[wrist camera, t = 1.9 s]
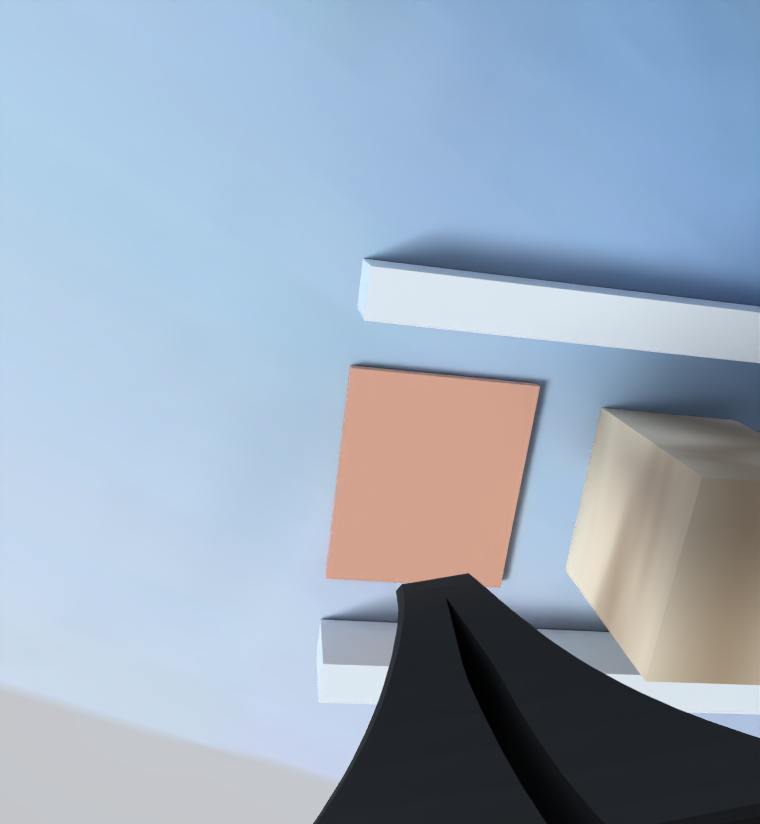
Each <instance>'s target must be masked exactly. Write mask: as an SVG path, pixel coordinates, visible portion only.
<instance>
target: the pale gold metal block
mask: <svg viewBox="0 0 760 824" xmlns="http://www.w3.org/2000/svg"><path fill="white" fill-rule="evenodd" d="M565 570H566V572H567V573H568V574H569V576H570V577H571V578H572V580H573V581H574V583H575V584H576V585H577V587H578V588H579V590H580V591H581V592H582V594H583V595H584V597H585V598H586V599H587V601H588V602H589V604H590V605H591V606H592V608H593V609H594V611H595V612H596V613H597V615H598V616H599V618H600V619H601V620H602V622H603V623H604V625H605V626H606V627H607V629H608V630H609V631H610V633H611V634H612V636H613V637H614V638H615V640H616V641H617V643H618V644H619V645H620V647H621V648H622V650H623V651H624V652H625V654H626V655H627V657H628V658H629V659H630V661H631V662H632V664H633V665H634V666H635V668H636V669H637V671H638V672H639V673H640V675H641V676H642V678H643V679H644V680H645V681H648V682H678V683H708V684H738V685H760V433H759V432H758V431H756V430H754V429H752V428H750V427H748V426H746V425H744V424H742V423H740V422H738V421H736V420H729V419H719V418H708V417H697V416H687V415H676V414H666V413H655V412H644V411H634V410H623V409H612V408H602V410H601V414H600V418H599V423H598V427H597V432H596V436H595V441H594V445H593V449H592V454H591V458H590V463H589V467H588V471H587V476H586V480H585V485H584V489H583V494H582V498H581V502H580V507H579V511H578V516H577V520H576V525H575V529H574V533H573V538H572V542H571V547H570V551H569V556H568V560H567V564H566V569H565Z"/></svg>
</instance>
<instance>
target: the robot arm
mask: <svg viewBox="0 0 760 824" xmlns="http://www.w3.org/2000/svg"><path fill="white" fill-rule="evenodd" d="M396 594H397V602H398V622H397V630H396V636H395V641H394V647H393V652H392V656H391V661H390V664H389V668H388V671H387V675H386V678H385V682H384V685H383V689H382V692H381V695H380V697H379V700H378V703H377V706H376V708H375V711H374V714H373V716H372V719H371V721H370V723H369V726H368V728H367V730H366V733H365V735H364V737H363V739H362V741H361V743H360V745H359V747H358V749H357V751H356V753H355V756H354V758H353V760H352V761H351V763H350V765H349V767H348V769H347V771H346V773H345V774H344V776H343V778H342V779H341V781H340V783H339V784H338V786H337V787H336V789H335V791H334V792H333V794H332V795H331V797H330V799H329V800H328V802H327V803H326V805H325V807H324V808H323V810H322V811H321V813H320V815H319V816H318V817H317V819H316V820H315V822H314V823H313V824H760V738H758V737H755V736H751V735H748V734H745V733H742V732H739V731H736V730H734V729H731V728H728V727H725V726H722V725H719V724H716V723H713V722H710V721H707V720H705V719H702V718H700V717H697V716H695V715H692V714H689V713H687V712H684V711H682V710H679V709H677V708H675V707H672V706H670V705H668V704H666V703H663V702H661V701H659V700H657V699H654V698H652V697H650V696H647V695H645V694H643V693H641V692H639V691H637V690H635V689H633V688H631V687H629V686H627V685H625V684H623V683H621V682H619V681H617V680H615V679H614V678H612V677H610V676H608V675H606V674H604V673H603V672H601V671H599V670H597V669H595V668H594V667H592V666H590V665H588V664H587V663H585V662H583V661H582V660H580V659H578V658H577V657H575V656H574V655H572V654H571V653H569V652H568V651H566V650H565V649H563V648H562V647H560V646H559V645H557V644H556V643H554V642H553V641H551V640H550V639H549V638H547V637H546V636H544V635H543V634H542V633H540V632H539V631H538V630H537V629H535V628H534V627H533V626H531V625H530V624H529V623H528V622H526V621H525V620H524V619H522V618H521V617H520V616H519V615H517V614H516V613H515V612H514V611H512V610H511V609H510V608H509V607H508V606H506V605H505V604H504V603H503V602H502V601H501V600H499V599H498V598H497V597H496V596H495V595H494V594H492V593H491V592H490V591H489V590H488V589H487V588H486V587H485V586H483V585H482V584H481V583H480V582H479V581H478V580H477V579H476V578H474V577H473V576H472V575H470V574H469V573H466V574H460V575H455V576H449V577H443V578H437V579H431V580H425V581H419V582H413V583H407V584H402V585H401V586H400V587H399V588H398V590H397V591H396Z"/></svg>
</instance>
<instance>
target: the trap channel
mask: <svg viewBox="0 0 760 824" xmlns="http://www.w3.org/2000/svg"><path fill="white" fill-rule="evenodd" d="M357 308H358V309H359V311H360V313H361V315H362V317H363V318H364V320H365V321H373V322H382V323H391V324H401V325H410V326H419V327H428V328H438V329H447V330H456V331H465V332H475V333H484V334H493V335H503V336H512V337H521V338H530V339H540V340H549V341H558V342H567V343H577V344H586V345H595V346H605V347H614V348H623V349H632V350H642V351H651V352H660V353H669V354H679V355H688V356H697V357H706V358H716V359H725V360H734V361H744V362H753V363H760V306H752V305H743V304H735V303H727V302H719V301H710V300H702V299H694V298H686V297H677V296H669V295H661V294H653V293H644V292H636V291H628V290H619V289H611V288H603V287H595V286H586V285H578V284H570V283H562V282H553V281H545V280H537V279H529V278H520V277H512V276H504V275H496V274H487V273H479V272H471V271H463V270H454V269H446V268H438V267H429V266H421V265H413V264H405V263H396V262H388V261H380V260H372V259H363V262H362V271H361V279H360V288H359V296H358V305H357ZM539 390H540V386H539V385H538V384H536V383H526V382H516V381H505V380H495V379H485V378H475V377H465V376H454V375H444V374H434V373H424V372H414V371H403V370H393V369H383V368H373V367H363V366H352V365H350V373H349V382H348V390H347V399H346V407H345V416H344V424H343V433H342V441H341V450H340V458H339V467H338V475H337V484H336V492H335V501H334V509H333V518H332V526H331V535H330V544H329V552H328V561H327V569H326V579H344V580H363V581H382V582H401V583H413V582H419V581H425V580H431V579H437V578H443V577H449V576H455V575H460V574H466V573H469V574H470V575H472V576H473V577H474V578H476V579H477V580H478V581H479V582H480V583H481V584H482V585H483V586H485V587H496V588H500V587H501V581H502V576H503V571H504V566H505V561H506V556H507V551H508V546H509V541H510V536H511V531H512V526H513V521H514V516H515V511H516V506H517V501H518V496H519V491H520V486H521V480H522V475H523V470H524V465H525V460H526V455H527V450H528V445H529V440H530V435H531V430H532V425H533V420H534V415H535V410H536V405H537V400H538V395H539ZM396 630H397V623H390V622H368V621H345V620H322V619H321V620H320V629H319V637H318V646H317V654H316V658H317V681H318V703H349V704H377V703H378V700H379V697H380V695H381V692H382V689H383V685H384V682H385V678H386V675H387V671H388V668H389V664H390V661H391V656H392V652H393V647H394V641H395V636H396ZM537 630H538V631H539V632H540V633H542V634H543V635H544V636H546V637H547V638H549V639H550V640H551V641H553V642H554V643H556V644H557V645H559V646H560V647H562V648H563V649H565V650H566V651H568V652H569V653H571V654H572V655H574V656H575V657H577V658H578V659H580V660H582V661H583V662H585V663H587V664H588V665H590V666H592V667H594V668H595V669H597V670H599V671H601V672H603V673H604V674H606V675H608V676H610V677H612V678H614V679H615V680H617V681H619V682H621V683H623V684H625V685H627V686H629V687H631V688H633V689H635V690H637V691H639V692H641V693H643V694H645V695H647V696H650V697H652V698H654V699H657V700H659V701H661V702H663V703H666V704H668V705H670V706H672V707H675V708H677V709H679V710H682V711H684V712H688V713H726V714H760V685H738V684H708V683H678V682H648V681H645V680H644V679H643V678H642V676H641V675H640V673H639V672H638V671H637V669H636V668H635V666H634V665H633V664H632V662H631V661H630V659H629V658H628V657H627V655H626V654H625V652H624V651H623V650H622V648H621V647H620V645H619V644H618V643H617V641H616V640H615V638H614V637H613V636H612V634H611V633H610V632H595V631H572V630H549V629H537Z"/></svg>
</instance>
